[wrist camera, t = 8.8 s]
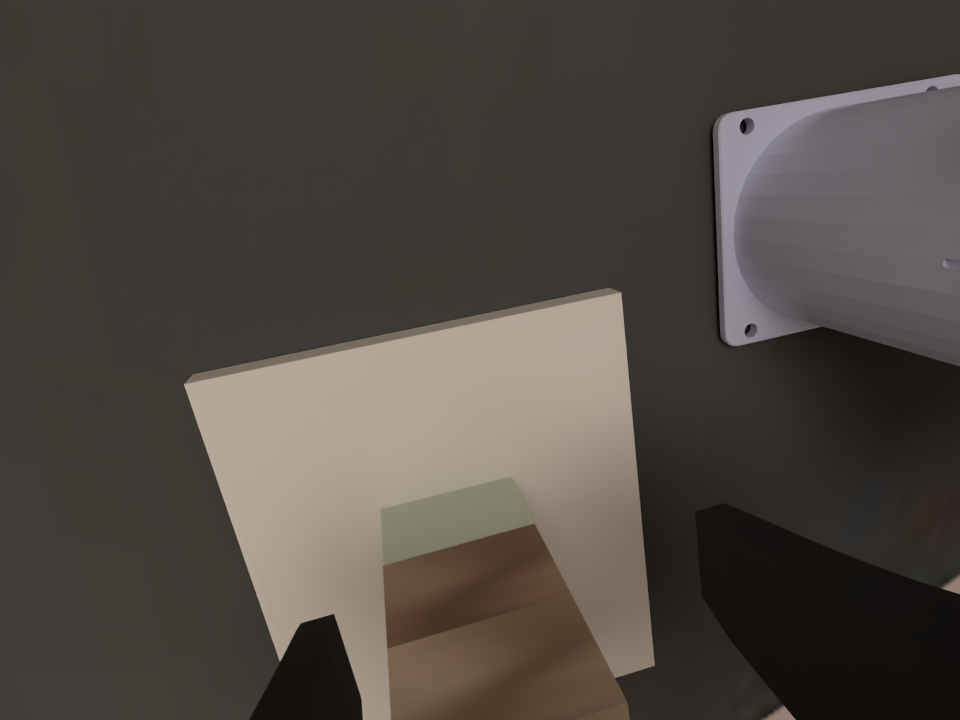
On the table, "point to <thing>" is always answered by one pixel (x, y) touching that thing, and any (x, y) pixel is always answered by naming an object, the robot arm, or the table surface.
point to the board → (434, 468)
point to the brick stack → (492, 637)
